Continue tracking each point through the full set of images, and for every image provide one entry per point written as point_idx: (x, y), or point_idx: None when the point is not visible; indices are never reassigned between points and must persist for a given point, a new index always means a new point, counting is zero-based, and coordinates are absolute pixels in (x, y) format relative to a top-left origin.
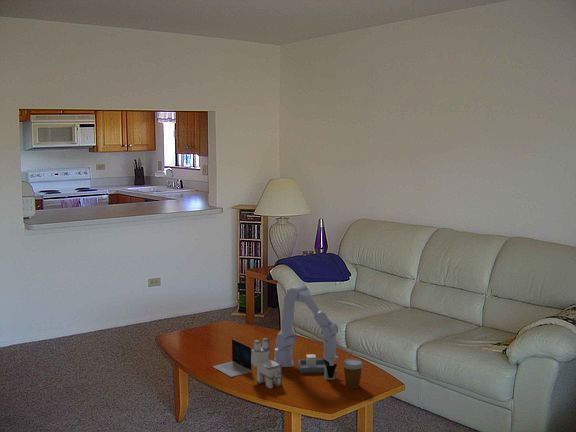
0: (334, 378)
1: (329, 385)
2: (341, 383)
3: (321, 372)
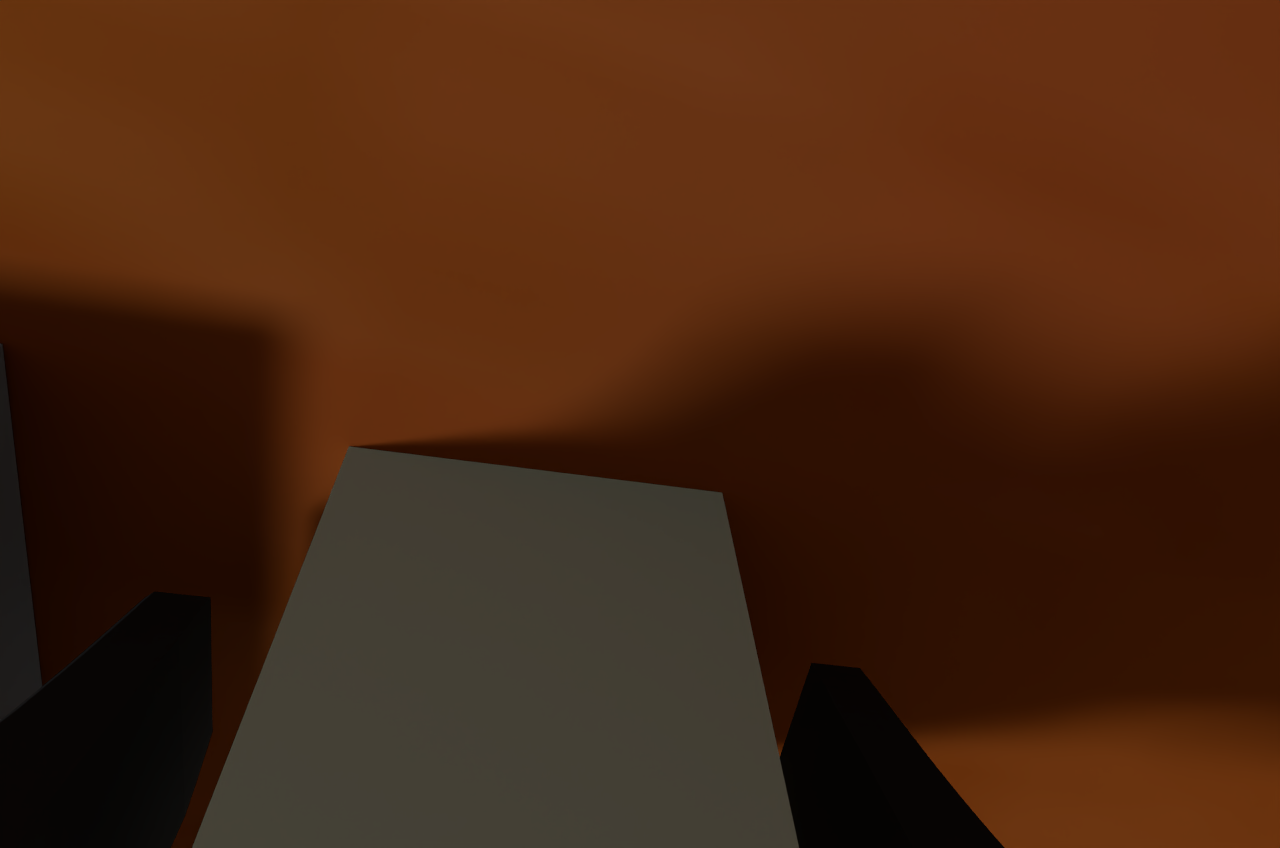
0: (725, 521)
1: (1168, 758)
2: (1222, 376)
3: None
